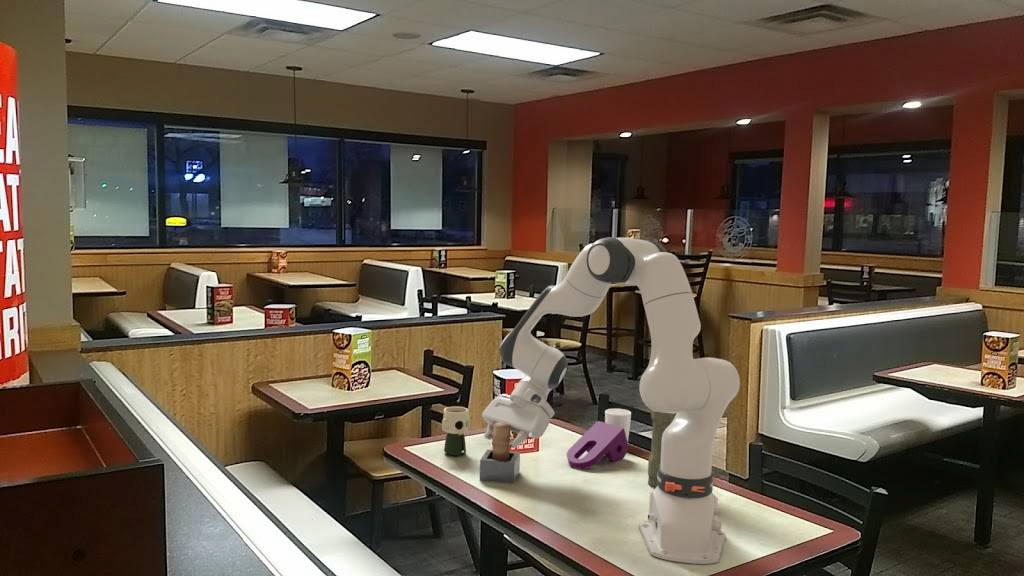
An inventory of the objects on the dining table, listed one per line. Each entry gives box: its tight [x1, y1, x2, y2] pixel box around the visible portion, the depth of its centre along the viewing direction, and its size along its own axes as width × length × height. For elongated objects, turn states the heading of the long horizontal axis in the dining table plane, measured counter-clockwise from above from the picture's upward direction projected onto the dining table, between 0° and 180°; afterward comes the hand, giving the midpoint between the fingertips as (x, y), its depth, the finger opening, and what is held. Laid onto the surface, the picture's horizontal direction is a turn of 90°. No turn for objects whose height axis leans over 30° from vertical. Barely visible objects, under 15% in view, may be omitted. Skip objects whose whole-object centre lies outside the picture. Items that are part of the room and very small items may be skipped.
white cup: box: [604, 408, 632, 443], centre depth 236 cm, size 8×8×10 cm
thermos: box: [647, 410, 677, 490], centre depth 199 cm, size 9×12×35 cm
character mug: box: [441, 406, 470, 456], centre depth 220 cm, size 11×7×13 cm, turn 141°
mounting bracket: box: [566, 420, 629, 470], centre depth 219 cm, size 9×8×18 cm
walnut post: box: [492, 422, 511, 461], centre depth 203 cm, size 4×4×14 cm
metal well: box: [479, 449, 521, 485], centre depth 203 cm, size 9×9×6 cm
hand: (499, 442), depth 202 cm, fingers open, 8 cm apart
